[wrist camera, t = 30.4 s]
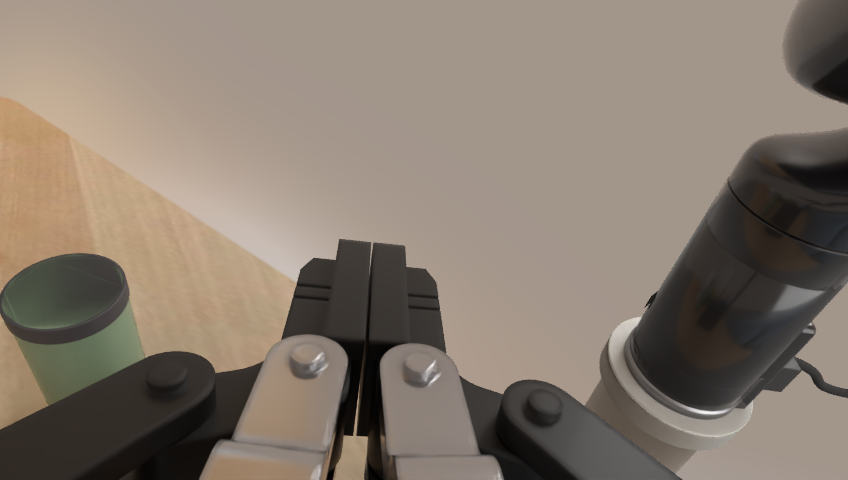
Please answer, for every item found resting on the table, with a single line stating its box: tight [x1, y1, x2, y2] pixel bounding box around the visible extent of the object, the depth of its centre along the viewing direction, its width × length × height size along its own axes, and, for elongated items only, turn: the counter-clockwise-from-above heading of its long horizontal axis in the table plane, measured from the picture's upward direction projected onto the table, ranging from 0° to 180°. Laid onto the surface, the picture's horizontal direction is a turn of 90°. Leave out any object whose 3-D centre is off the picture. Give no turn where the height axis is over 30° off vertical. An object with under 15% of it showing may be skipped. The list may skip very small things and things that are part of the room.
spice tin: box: [0, 253, 145, 405], centre depth 31 cm, size 5×5×12 cm
